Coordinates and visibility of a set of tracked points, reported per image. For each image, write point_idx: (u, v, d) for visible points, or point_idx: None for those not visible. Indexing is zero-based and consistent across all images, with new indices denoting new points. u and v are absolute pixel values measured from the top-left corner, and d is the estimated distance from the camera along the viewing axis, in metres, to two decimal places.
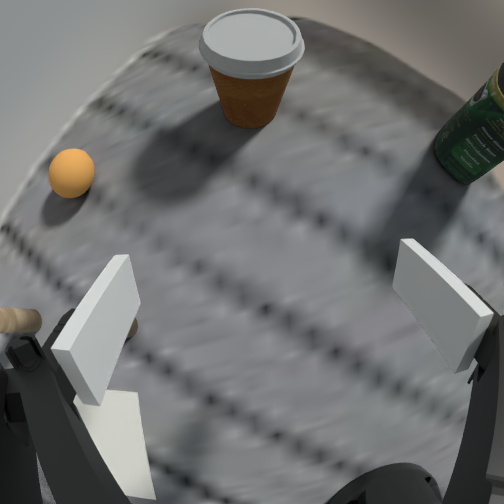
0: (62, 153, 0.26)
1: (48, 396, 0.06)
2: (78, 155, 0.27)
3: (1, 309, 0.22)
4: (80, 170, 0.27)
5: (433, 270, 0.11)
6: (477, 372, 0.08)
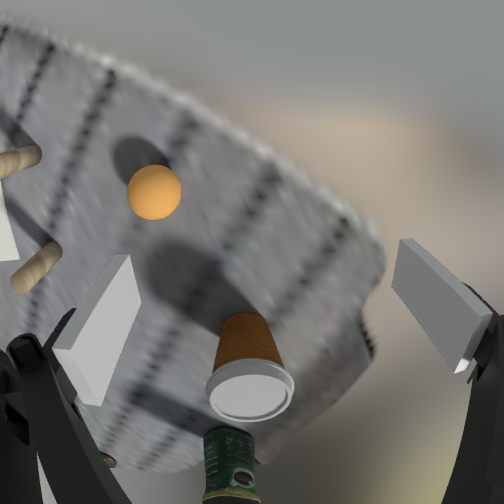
0: (161, 195, 0.27)
1: (49, 396, 0.06)
2: (161, 214, 0.28)
3: (9, 169, 0.22)
4: (146, 218, 0.28)
5: (432, 270, 0.11)
6: (476, 372, 0.08)
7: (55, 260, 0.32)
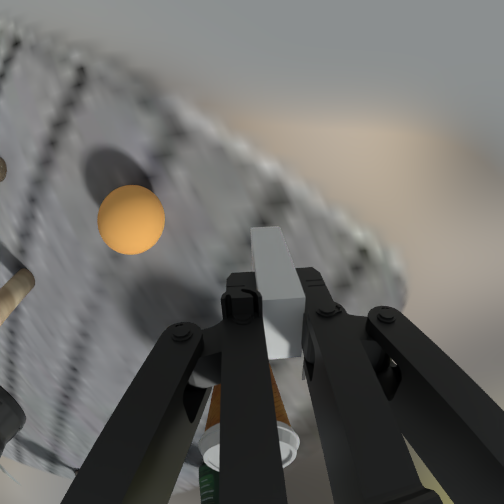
0: (137, 227, 0.21)
1: (255, 354, 0.08)
2: (139, 249, 0.22)
3: None
4: (122, 253, 0.22)
5: (271, 254, 0.13)
6: (306, 369, 0.10)
7: (26, 291, 0.26)
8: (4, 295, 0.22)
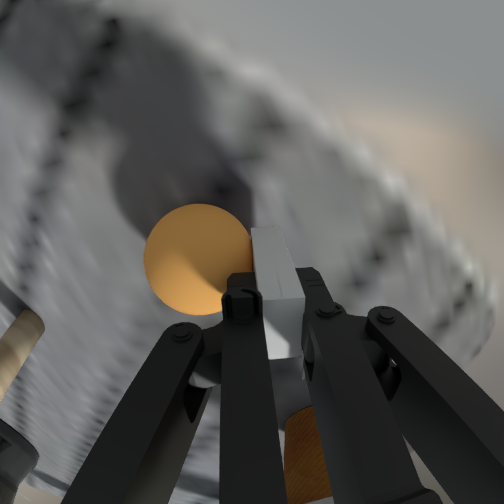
0: (222, 280, 0.13)
1: (255, 354, 0.08)
2: (219, 310, 0.14)
3: None
4: (187, 313, 0.15)
5: (271, 254, 0.13)
6: (306, 369, 0.10)
7: (34, 342, 0.19)
8: (4, 354, 0.15)
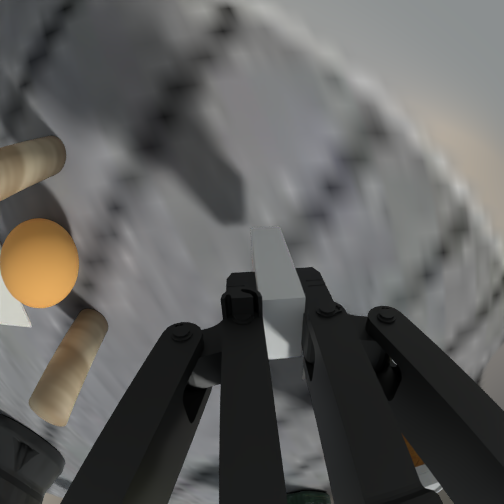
0: (52, 273, 0.14)
1: (255, 354, 0.08)
2: (57, 299, 0.15)
3: None
4: (37, 307, 0.15)
5: (271, 254, 0.13)
6: (306, 369, 0.10)
7: (99, 345, 0.19)
8: (72, 360, 0.16)
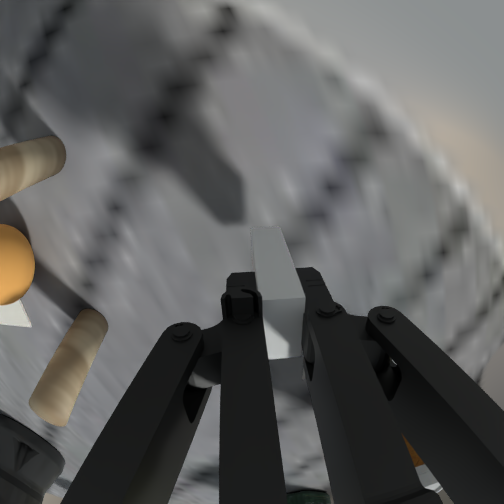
0: None
1: (255, 354, 0.08)
2: None
3: None
4: None
5: (271, 254, 0.13)
6: (306, 369, 0.10)
7: (99, 345, 0.19)
8: (72, 360, 0.16)
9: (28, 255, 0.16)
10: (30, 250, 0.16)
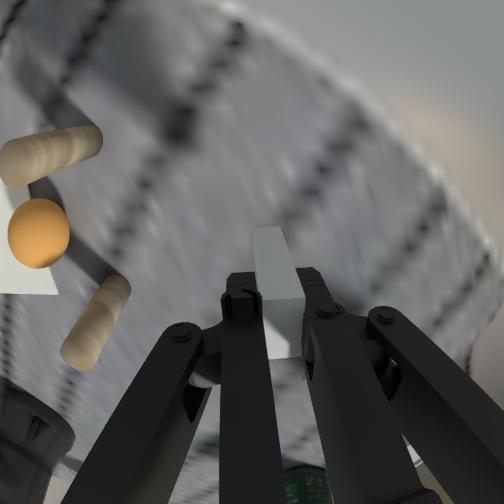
0: (10, 245, 0.17)
1: (255, 354, 0.08)
2: (24, 264, 0.19)
3: (54, 164, 0.14)
4: None
5: (271, 254, 0.13)
6: (306, 369, 0.10)
7: (123, 305, 0.23)
8: (101, 313, 0.20)
9: (66, 224, 0.20)
10: (67, 220, 0.20)
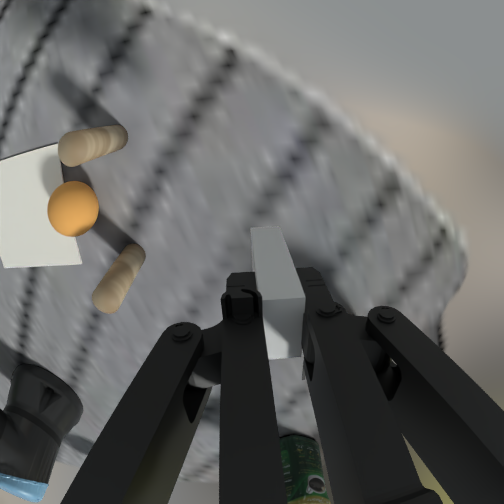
0: (50, 216, 0.24)
1: (255, 354, 0.08)
2: (60, 233, 0.25)
3: (98, 151, 0.21)
4: None
5: (271, 254, 0.13)
6: (306, 369, 0.10)
7: (140, 267, 0.30)
8: (124, 269, 0.26)
9: (97, 201, 0.27)
10: (97, 199, 0.27)
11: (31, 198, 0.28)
